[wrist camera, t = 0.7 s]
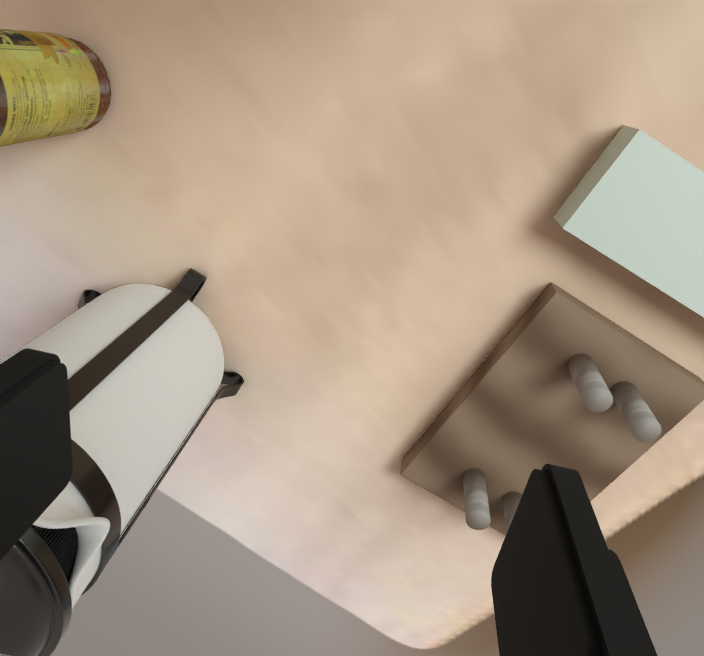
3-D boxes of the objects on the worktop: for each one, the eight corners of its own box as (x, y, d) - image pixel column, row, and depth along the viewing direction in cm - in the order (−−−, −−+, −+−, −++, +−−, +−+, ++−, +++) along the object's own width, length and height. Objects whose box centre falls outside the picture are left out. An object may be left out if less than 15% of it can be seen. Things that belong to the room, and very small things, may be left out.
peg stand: (551, 282, 40) (573, 321, 34) (700, 378, 42) (747, 432, 36) (401, 460, 49) (397, 517, 43) (530, 534, 50) (544, 600, 44)
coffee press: (114, 208, 42) (-439, 447, 16) (285, 328, 45) (64, 714, 18) (36, 361, 50) (-435, 707, 23) (187, 457, 52) (-76, 873, 25)
